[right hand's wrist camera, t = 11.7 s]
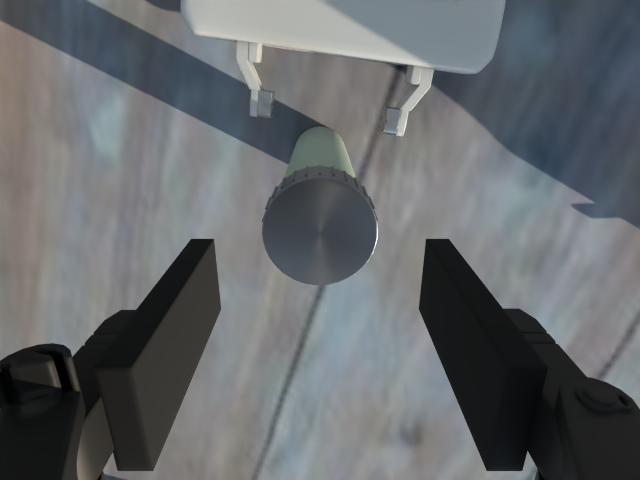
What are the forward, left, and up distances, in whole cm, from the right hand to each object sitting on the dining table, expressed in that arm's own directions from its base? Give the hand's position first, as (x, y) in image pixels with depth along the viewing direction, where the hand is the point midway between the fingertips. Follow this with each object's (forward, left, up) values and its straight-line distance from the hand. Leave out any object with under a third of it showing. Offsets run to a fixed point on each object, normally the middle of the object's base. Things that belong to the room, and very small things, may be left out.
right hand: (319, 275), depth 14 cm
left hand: (+1, +3, -18) cm, 18 cm away
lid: (0, 0, -4) cm, 4 cm away
